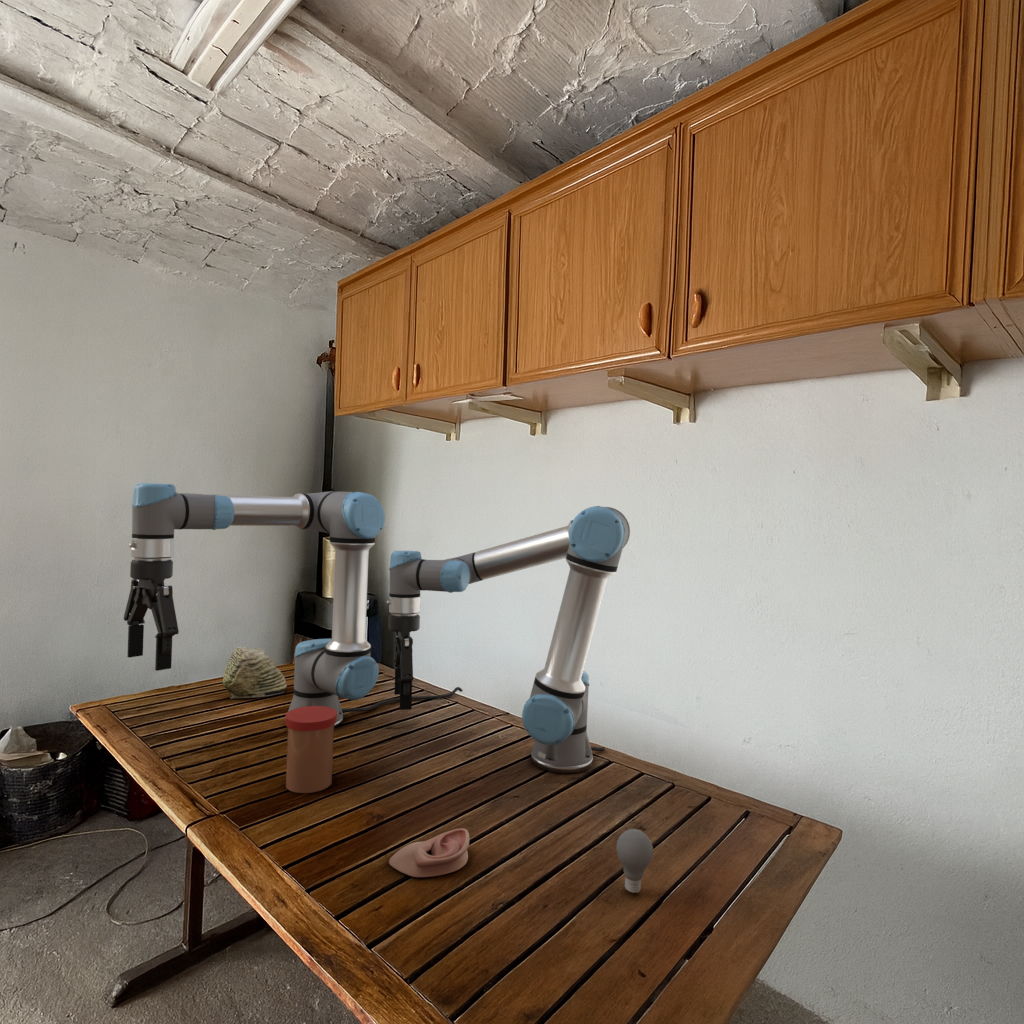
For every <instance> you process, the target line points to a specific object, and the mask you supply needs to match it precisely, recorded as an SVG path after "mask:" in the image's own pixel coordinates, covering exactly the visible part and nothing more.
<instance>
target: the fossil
mask: <svg viewBox="0 0 1024 1024" xmlns="http://www.w3.org/2000/svg"><path fill="white" fill-rule="evenodd" d="M222 676H223V677H222V685H223V687H224V688H225V690H226V691H228V693H229V698H230V699H250V698H264V697H271V696H275V695H281V694H284V693H285V691H286V689H287V687H288V686H287V680H286V678H285V676H284V674H283V673H282V672H281V669H279V668H278V667H277V665H276V663H275V662H274V660H273V659H272V658H271V657H270V656H269V655H268V654H267V653H266V652H265V650H264V649H263V648H260V647H258V648H251V647H247V646H246V647H245V646H238V647H237V648H236V649H235V650H233V651H232V653H231V656H230V657H229V659H228V660H227V663H226V666H225V668H224V671H223V675H222Z"/></svg>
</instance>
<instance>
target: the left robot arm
mask: <svg viewBox="0 0 1024 1024" xmlns="http://www.w3.org/2000/svg"><path fill="white" fill-rule="evenodd" d="M385 515H386V513H385V511H384V508H383V505H382V503H381V502H380V501H379V500H378V498H377V497H375V495H373V494H370V493H367V492H363V491H362V492H361V491H337V490H336V491H335V490H333V491H332V490H330V491H321V492H311V493H295V494H294V495H293V496H276V495H275V496H274V495H273V496H272V495H248V494H247V495H246V494H244V495H243V494H220V493H219V494H218V493H217V494H216V493H215V494H214V493H189V492H187V493H186V492H177V491H176V486H175V485H174V484H173V483H152V482H139V483H137V484H136V485H135V486H134V488H133V492H132V501H131V520H132V521H131V542H130V543H128V547H129V548H130V549H131V550H130V556H131V558H133V559H132V560H131V561H130V567H129V568H130V571H129V574H130V575H129V576H130V578H131V581H130V590H129V594H128V598H127V603H126V607H125V610H124V615H123V621H124V622H126V624H127V626H128V629H127V630H128V631H127V658H135V657H142V656H144V635H145V634H144V630H145V625H144V624H145V623H146V621H145V619H144V618H145V616H146V615H147V612H148V609H149V610H151V613H152V618H153V620H154V624H155V627H156V631H157V633H156V635H155V636H154V638H155V661H154V663H155V665H154V668H155V669H154V670H155V671H157V672H159V671H164V670H169V669H172V659H173V657H172V655H173V637H175V636H176V635H179V632H180V631H179V625H178V619H177V615H176V614H177V613H176V609H175V603H174V597H173V595H174V593H173V585H165V580H167V579H171V578H172V577H173V575H174V573H173V572H174V561H173V560H172V559H171V558H173V557H174V554H175V553H174V552H175V530H213V531H215V530H224V529H228V528H230V526H233V527H234V526H237V527H238V526H240V527H243V526H246V527H247V526H249V527H250V526H258V527H259V526H268V527H269V526H276V527H277V526H282V527H284V526H285V527H286V526H287V527H288V526H289V527H290V526H291V527H293V528H294V529H296V530H308V531H309V530H310V531H316V532H319V533H325V534H329V544H330V545H331V546H332V547H333V548H334V550H335V551H334V572H333V573H334V577H333V599H332V625H331V626H332V627H331V638H317V639H308V640H304V641H300V642H299V643H297V645H296V646H295V650H294V655H293V657H294V672H293V673H294V674H293V695H292V696H293V697H292V699H291V702H290V704H289V708H288V711H287V713H288V712H289V711H291V710H293V709H296V708H300V707H306V706H325V707H330V708H333V709H335V710H336V711H337V722H336V723H335V724H334V729H335V728H337V727H339V726H340V725H342V723H343V722H344V714H343V713H351V712H353V713H354V712H355V713H356V712H368V711H371V710H372V711H373V710H374V709H375V708H377V707H379V706H382V705H386V704H390V703H396V702H400V697H395V698H389V699H385V700H380V701H378V702H376V703H374V704H372V705H370V706H367V707H349V708H342V706H341V702H340V699H339V698H341V699H342V700H343V699H344V700H348V701H349V700H350V701H357V700H360V699H362V698H364V697H365V696H367V695H368V694H370V692H371V690H372V689H374V687H375V685H376V683H377V682H378V678H379V674H380V672H379V671H380V670H379V669H380V668H379V665H378V663H377V662H376V660H375V659H374V657H371V652H372V649H371V648H372V644H371V643H370V642H368V640H367V639H366V631H367V607H368V606H367V605H368V604H367V602H368V582H369V581H368V579H369V555H370V553H369V552H370V550H371V548H372V547H374V545H375V544H376V536H378V535H379V534H380V533H381V530H383V528H384V526H385V522H386V521H385V520H386V516H385ZM463 691H464V690H463V689H462V688H461V687H460V686H456V687H454V689H453V690H452V691H451V692H449V693H446V694H438V695H437V694H436V695H423V696H420V695H419V696H412V701H421V700H422V701H424V700H436V699H445V698H449V697H453V695H454V694H456V692H460V693H461V692H462V693H463Z"/></svg>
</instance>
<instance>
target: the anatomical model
mask: <svg viewBox="0 0 1024 1024" xmlns="http://www.w3.org/2000/svg"><path fill="white" fill-rule="evenodd" d="M469 846H470V832H469V831H468V829H466V828H463V827H460V828H455V829H451V830H447V831H445V832H442V833H440V834H437V835H435V836H434V837H431V838H430V839H426V840H424V841H415V842H412V843H409V844H406V845H405V846H404V847H401V848H400V849H398V850H397V851H396V852H395V853H394V854H393V855H392V856H391V857H390V858H389V860H388V865H390V866H391V867H392V868H393V869H395V870H397V871H398V872H400V873H402V874H404V875H406V876H409V877H411V878H429V877H437V876H443V875H448V874H450V873H453V872H456V871H458V870H460V869H462V868H463V867H464V866H466V864H467V862H468V860H469V852H468V849H469Z"/></svg>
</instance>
